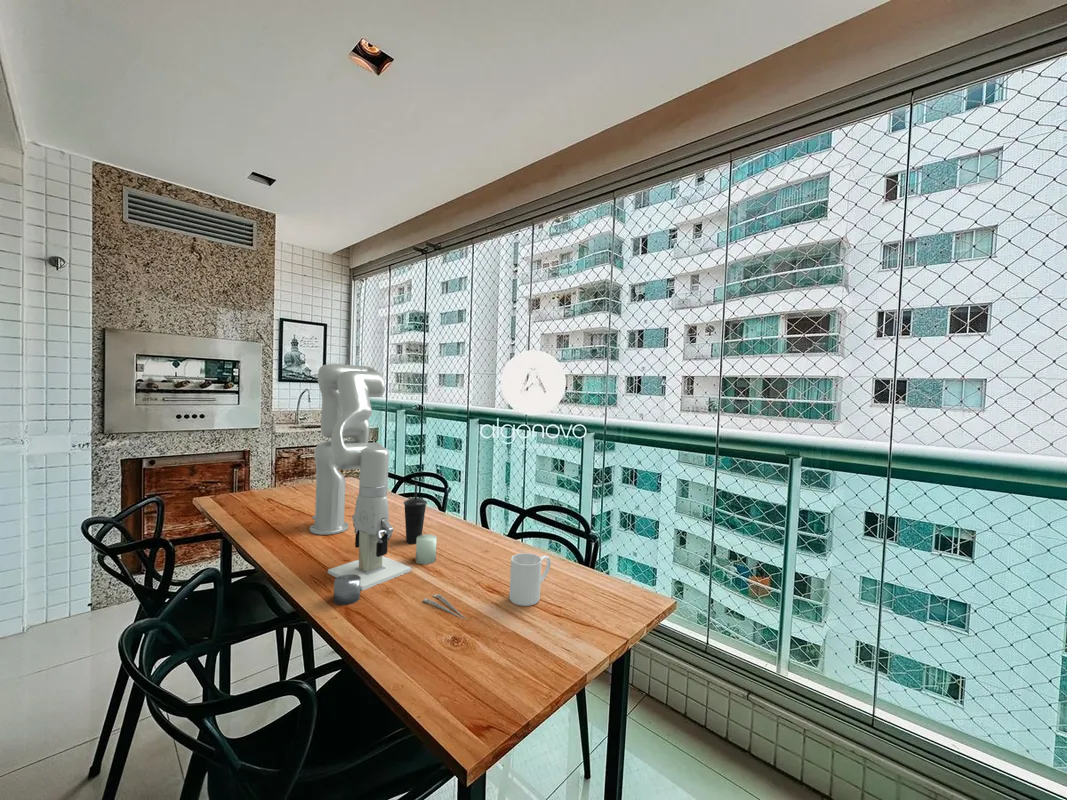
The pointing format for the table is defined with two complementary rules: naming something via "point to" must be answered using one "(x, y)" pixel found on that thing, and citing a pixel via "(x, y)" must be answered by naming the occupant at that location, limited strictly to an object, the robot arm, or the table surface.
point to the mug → (526, 578)
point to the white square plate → (372, 572)
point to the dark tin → (347, 589)
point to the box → (368, 552)
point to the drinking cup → (414, 517)
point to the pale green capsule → (426, 549)
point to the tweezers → (442, 606)
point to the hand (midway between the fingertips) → (370, 550)
